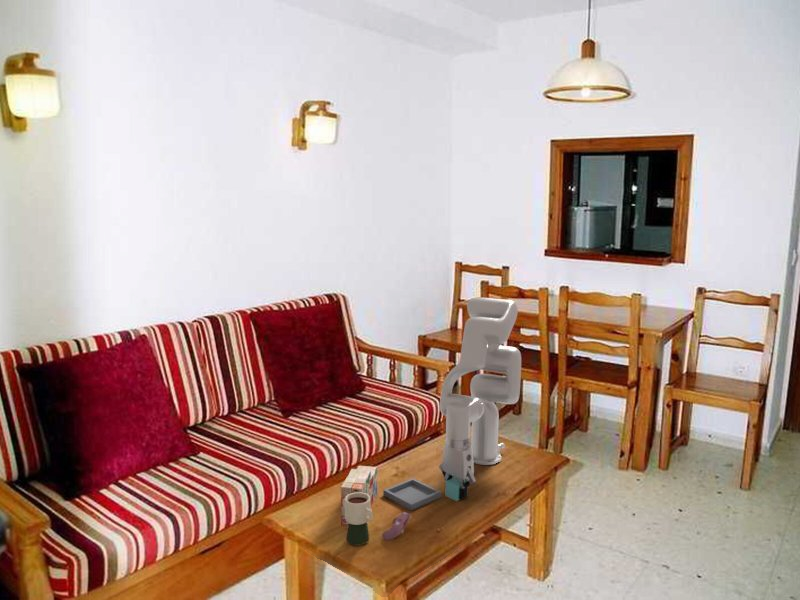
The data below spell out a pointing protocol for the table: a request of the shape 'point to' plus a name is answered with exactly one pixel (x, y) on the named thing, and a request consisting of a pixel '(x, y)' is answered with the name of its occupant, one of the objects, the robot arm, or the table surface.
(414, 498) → the tray
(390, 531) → the purple elongated lump
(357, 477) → the stack of blocks
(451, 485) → the cube
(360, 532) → the character mug
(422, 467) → the table surface
